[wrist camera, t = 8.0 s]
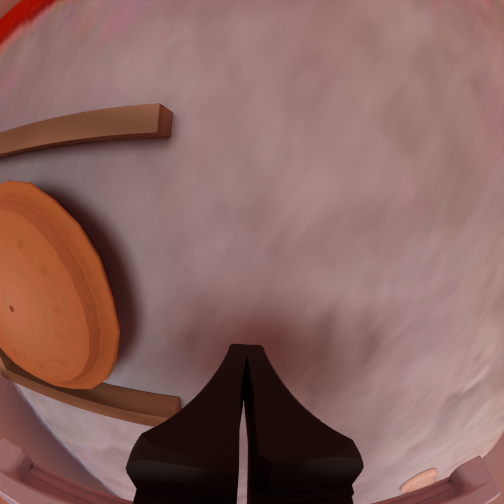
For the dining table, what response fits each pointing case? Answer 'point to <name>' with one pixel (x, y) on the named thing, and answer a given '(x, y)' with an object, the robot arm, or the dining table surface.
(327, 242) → the dining table surface
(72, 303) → the pie
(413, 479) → the candle
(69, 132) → the serving rack
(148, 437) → the robot arm
